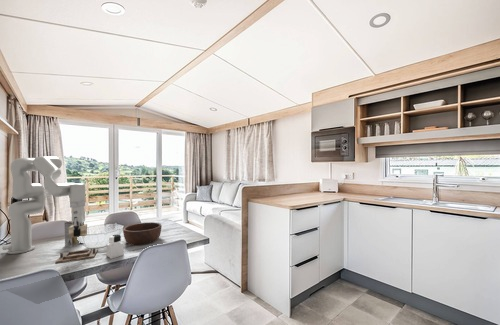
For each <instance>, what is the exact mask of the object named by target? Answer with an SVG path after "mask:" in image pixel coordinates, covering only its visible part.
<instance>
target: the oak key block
mask: <svg viewBox="0 0 500 325" xmlns="http://www.w3.org/2000/svg"><path fill="white" fill-rule="evenodd" d="M87 234H88V224H87V223H84V224H82V225H80V236H84V237H86V236H87ZM71 237H74V225H72V226H70V227H69V238H71ZM75 237H79V236H75Z"/></svg>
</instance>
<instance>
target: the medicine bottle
mask: <svg viewBox="0 0 500 325" xmlns="http://www.w3.org/2000/svg"><path fill="white" fill-rule="evenodd" d="M108 241H109V243H107V244H106V246H105V247H106V248H105V249H106V256H107V257H108V258H109V259H116V258H119V257H122V256H124V255H125V250H124V248H125V245H124V243H123V242H122V237H121V234H112V235H110V236H109V237H108Z"/></svg>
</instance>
